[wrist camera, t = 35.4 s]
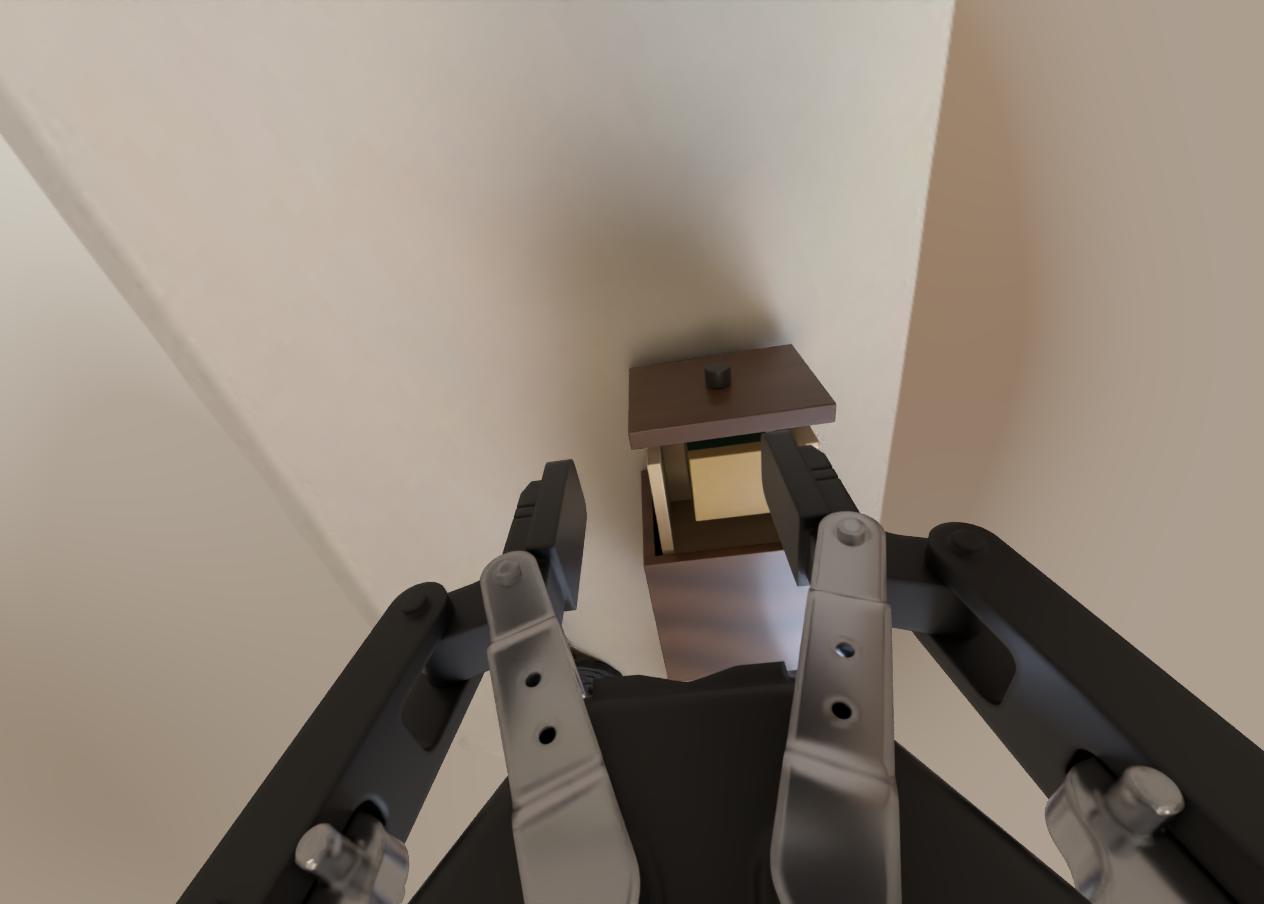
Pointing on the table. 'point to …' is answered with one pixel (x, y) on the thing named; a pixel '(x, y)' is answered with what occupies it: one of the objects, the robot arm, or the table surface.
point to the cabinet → (721, 603)
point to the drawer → (718, 430)
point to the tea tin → (726, 476)
